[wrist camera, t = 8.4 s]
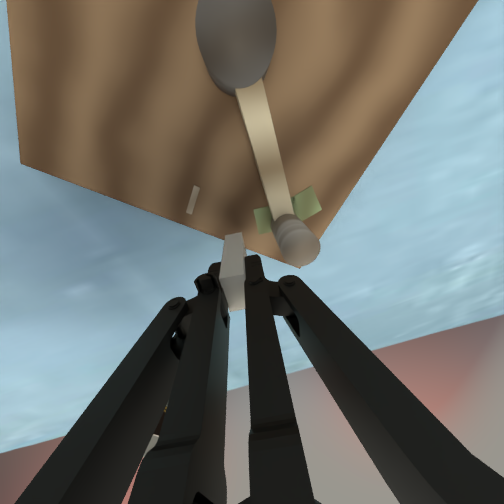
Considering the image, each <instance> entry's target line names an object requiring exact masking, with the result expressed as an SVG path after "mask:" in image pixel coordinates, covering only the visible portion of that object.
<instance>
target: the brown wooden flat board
mask: <svg viewBox="0 0 504 504" xmlns="http://www.w3.org/2000/svg"><path fill="white" fill-rule="evenodd" d="M6 1H7V13H8V24H9V36H10V47H11V59H12V70H13V82H14V93H15V105H16V116H17V128H18V139H19V151H20V163H21V164H23V165H26V166H28V167H31V168H34V169H36V170H39V171H42V172H44V173H47V174H50V175H52V176H55V177H58V178H60V179H63V180H66V181H68V182H71V183H74V184H76V185H79V186H82V187H84V188H87V189H90V190H92V191H95V192H98V193H100V194H103V195H106V196H108V197H111V198H113V199H116V200H119V201H121V202H124V203H127V204H129V205H132V206H135V207H137V208H140V209H143V210H145V211H148V212H151V213H153V214H156V215H159V216H161V217H164V218H167V219H169V220H172V221H175V222H177V223H180V224H183V225H185V226H188V227H191V228H193V229H196V230H199V231H201V232H204V233H206V234H209V235H212V236H214V237H217V238H220V239H222V240H225V235H229V234H234V233H239V232H242V236H243V241H244V245H245V248H246V249H249V250H252V251H254V252H257V253H260V254H262V255H265V256H268V257H270V258H273V259H276V260H278V261H281V262H284V263H286V264H288V263H287V262H286V261H285V260H284V258H283V256H282V254H281V251H280V249H279V247H278V244H277V242H276V240H275V237H274V235H273V232H272V230H271V226H270V224H271V220H272V215H271V211H270V208H269V205H268V201H267V198H266V194H265V191H264V188H263V184H262V181H261V178H260V174H259V171H258V168H257V164H256V161H255V158H254V154H253V151H252V148H251V144H250V141H249V138H248V134H247V131H246V128H245V124H244V121H243V118H242V114H241V111H240V108H239V104H238V101H237V98H236V97H234V96H230V95H228V94H226V93H224V92H223V91H221V90H220V89H219V88H218V87H217V86H216V85H215V83H214V82H213V81H212V79H211V77H210V75H209V73H208V71H207V68H206V65H205V63H204V60H203V57H202V55H201V52H200V49H199V46H198V42H197V37H196V29H195V17H196V9H197V4H198V0H6ZM477 1H478V0H271V2H272V5H273V8H274V12H275V17H276V26H277V35H276V44H275V49H274V53H273V56H272V59H271V62H270V64H269V67H268V70H267V73H266V76H265V78H264V80H263V85H264V89H265V93H266V97H267V102H268V106H269V110H270V114H271V118H272V123H273V127H274V131H275V135H276V139H277V144H278V148H279V152H280V156H281V160H282V165H283V169H284V173H285V177H286V181H287V186H288V190H289V194H290V198H291V203H292V207H293V211H294V213H295V214H296V215H297V217H298V218H299V219H300V220H301V221H302V222H303V223H304V224H305V225H306V226H307V227H308V228H309V229H310V231H311V232H312V233H313V234H314V235H315V236H316V237H317V238H318V240H319V239H320V238H321V236H322V235H323V233H324V232H325V230H326V229H327V227H328V226H329V224H330V223H331V221H332V220H333V218H334V217H335V215H336V214H337V212H338V211H339V209H340V208H341V206H342V205H343V203H344V202H345V200H346V198H347V197H348V195H349V194H350V192H351V191H352V189H353V188H354V186H355V185H356V183H357V182H358V180H359V179H360V177H361V176H362V174H363V173H364V171H365V170H366V168H367V167H368V165H369V164H370V162H371V161H372V159H373V158H374V156H375V155H376V153H377V152H378V150H379V149H380V147H381V146H382V144H383V143H384V141H385V140H386V138H387V137H388V135H389V134H390V132H391V131H392V129H393V128H394V126H395V125H396V123H397V122H398V120H399V119H400V117H401V116H402V114H403V113H404V111H405V110H406V108H407V107H408V105H409V104H410V102H411V101H412V99H413V98H414V96H415V95H416V93H417V92H418V90H419V89H420V87H421V86H422V84H423V83H424V81H425V80H426V78H427V77H428V75H429V74H430V72H431V71H432V69H433V68H434V66H435V65H436V63H437V62H438V60H439V59H440V57H441V56H442V54H443V53H444V51H445V50H446V48H447V47H448V45H449V44H450V42H451V41H452V39H453V37H454V36H455V34H456V33H457V31H458V30H459V28H460V27H461V25H462V24H463V22H464V21H465V19H466V18H467V16H468V15H469V13H470V12H471V10H472V9H473V7H474V6H475V4H476V3H477ZM289 265H290V264H289ZM294 267H297V266H294ZM297 268H299V269H300V268H301V266H300V267H297Z"/></svg>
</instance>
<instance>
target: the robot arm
mask: <svg viewBox="0 0 504 504" xmlns="http://www.w3.org/2000/svg"><path fill="white" fill-rule="evenodd" d="M194 283H195V285H196V288H197V290H198V295H197V296H196V297H194V298H192V299H190V300H187V301H186V300H185V298H183V297H176V298H173V299H171V300H170V301H168V302H167V303H166V304H165V305H164V306H163V308H162V309H161V310H160V312H159V313H158V314H157V316H156V317H155V318H154V320H153V321H152V322H151V324H150V325H149V326H148V327H147V329H146V330H145V331H144V333H143V334H142V335H141V337H140V338H139V339H138V341H137V342H136V343H135V345H134V346H133V347H132V349H131V350H130V351H129V353H128V354H127V355H126V357H125V358H124V359H123V361H122V362H121V363H120V365H119V366H118V367H117V369H116V370H115V371H114V373H113V374H112V375H111V376H110V378H109V379H108V380H107V382H106V383H105V384H104V386H103V387H102V388H101V390H100V391H99V392H98V394H97V395H96V396H95V398H94V399H93V400H92V402H91V403H90V404H89V406H88V407H87V408H86V410H85V411H84V412H83V414H82V415H81V416H80V418H79V419H78V420H77V422H76V423H75V424H74V425H73V427H72V428H71V429H70V431H69V432H68V433H67V435H66V436H65V437H64V439H63V440H62V441H61V443H60V444H59V445H58V447H57V448H56V449H55V451H54V452H53V453H52V455H51V456H50V457H49V459H48V460H47V461H46V463H45V464H44V465H43V467H42V468H41V469H40V471H39V472H38V473H37V475H36V476H35V477H34V478H33V480H32V481H31V483H30V484H29V485H28V486H27V488H26V489H25V491H24V492H23V493H22V494H21V496H20V497H19V498H18V500H17V501H16V503H15V504H121V503H122V501H123V499H124V497H125V495H126V492H127V490H128V488H129V486H130V484H131V482H132V479H133V477H134V475H135V473H136V471H137V468H138V466H139V464H140V462H141V460H142V458H143V455H144V453H145V451H146V449H147V447H148V445H149V442H150V440H151V438H152V436H153V434H154V432H155V429H156V427H157V425H158V423H159V421H160V418H161V416H162V414H163V412H164V410H165V408H166V405H167V403H168V405H167V409H166V412H165V416H164V420H163V423H162V427H161V431H160V434H159V438H158V440H157V443H156V444H155V446H154V447H153V448H152V449H151V450H149V451H148V452H147V453H146V455H145V456H144V458H143V460H142V462H141V464H140V467H139V470H138V472H137V475H136V479H135V482H134V486H133V488H132V492H131V495H130V498H129V501H128V504H226V503H227V486H226V477H225V470H224V447H225V423H226V421H225V420H226V397H227V373H228V349H229V324H230V317H229V313H228V307H229V310H230V312H231V311H236V310H242V309H245V314H246V334H247V354H248V375H249V395H250V413H251V414H250V416H251V430H250V433H249V477H250V497H248V498H246V499H245V500H243V501H242V502H240V503H238V504H321V503H320V502H318V501H317V500H315V499H314V496H313V492H312V487H311V482H310V478H309V474H308V469H307V464H306V460H305V456H304V451H303V446H302V442H301V437H300V433H299V429H298V425H297V421H296V417H295V413H294V408H293V403H292V399H291V394H290V390H289V385H288V380H287V376H286V371H285V367H284V362H283V357H282V353H281V348H280V344H279V339H278V335H277V330H276V326H275V321H274V316H273V315H278V316H283V318H284V320H285V321H286V323H287V324H288V326H289V328H290V329H291V331H292V332H293V334H294V336H295V337H296V339H297V340H298V342H299V344H300V345H301V347H302V348H303V350H304V352H305V353H306V355H307V357H308V358H309V360H310V361H311V363H312V365H313V366H314V368H315V369H316V371H317V372H318V374H319V376H320V377H321V379H322V380H323V382H324V384H325V385H326V387H327V389H328V390H329V392H330V393H331V395H332V397H333V398H334V400H335V402H336V403H337V405H338V406H339V408H340V409H341V411H342V413H343V414H344V416H345V418H346V419H347V420H348V422H349V424H350V426H351V427H352V429H353V430H354V432H355V434H356V435H357V437H358V439H359V440H360V442H361V443H362V445H363V447H364V448H365V450H366V451H367V453H368V455H369V456H370V458H371V459H372V461H373V463H374V464H375V466H376V467H377V469H378V471H379V472H380V474H381V475H382V477H383V479H384V480H385V482H386V483H387V485H388V486H389V488H390V489H391V491H392V492H393V494H394V495H395V497H396V498H397V500H398V501H399V503H400V504H504V478H503V477H502V476H501V475H499V474H498V473H497V472H495V471H494V470H493V469H491V468H490V467H488V466H487V465H486V464H484V463H483V462H482V461H480V460H479V459H478V458H476V457H475V456H474V455H472V454H471V453H470V452H469V451H468V450H467V449H466V448H465V447H464V446H463V445H462V444H461V443H460V442H459V441H458V439H457V438H455V436H453V434H452V433H451V432H450V431H449V430H448V429H447V428H446V427H445V426H444V425H443V424H442V423H441V422H440V421H439V420H438V419H437V418H436V417H435V416H434V415H433V414H432V413H431V412H430V411H429V410H428V409H427V408H426V407H425V406H424V405H423V404H422V403H421V402H420V401H419V400H418V399H417V398H416V397H415V396H414V395H413V393H411V392H410V390H409V389H408V388H407V387H406V386H405V385H404V384H402V382H401V381H400V380H399V379H398V378H397V377H396V376H395V375H394V374H393V373H392V372H391V371H390V370H389V369H388V368H387V367H386V366H385V365H384V364H383V363H382V362H381V361H380V360H379V359H378V358H377V357H376V356H375V355H374V354H373V353H372V352H371V351H370V350H369V349H368V347H367V346H366V345H365V344H364V343H363V342H362V341H361V340H360V339H359V338H358V337H357V336H356V335H355V334H354V333H353V332H352V331H351V330H350V329H349V328H348V327H347V326H346V325H345V324H344V323H343V322H342V321H341V320H340V319H339V318H338V317H337V316H336V315H335V314H334V313H333V312H332V311H331V310H330V309H329V308H328V307H327V306H326V305H325V304H324V302H323V301H322V300H321V299H320V298H319V297H318V296H317V295H316V294H315V293H314V292H313V291H312V290H311V289H310V288H309V287H308V286H307V285H306V284H305V283H304V282H303V281H302V280H301V279H300V278H299V277H297V276H294V275H287V276H283V277H281V278H280V279H279V281H278V282H273V281H269V280H267V279H266V278H265V276H264V272H263V267H262V263H261V258H260V256H258V255H257V254H256V255H251V256H247V254H246V250H245V245H244V241H243V236H242V232H239V233H234V234H229V235H225V240H224V247H223V254H222V261H221V262H218V263H213V264H212V265H211V266H210V267H209V270H208V273H205V274H202V275H200V276H198V277H197V278H196V279H195V281H194ZM174 332H175V335H174V337H173V338H172V336H173V334H174Z"/></svg>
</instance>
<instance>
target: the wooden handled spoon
mask: <svg viewBox="0 0 504 504" xmlns="http://www.w3.org/2000/svg"><path fill="white" fill-rule="evenodd" d="M195 29H196V37H197V42H198V46H199V49H200V52H201V55H202V57H203V60H204V63H205V65H206V68H207V71H208V73H209V75H210V77H211V79H212V81H213V82H214V83H215V85H216V86H217V87H218V88H219V89H220V90H221V91H223V92H224V93H226V94H228V95H230V96H234V97H236V98H237V101H238V104H239V108H240V111H241V114H242V118H243V121H244V124H245V128H246V131H247V134H248V138H249V141H250V144H251V148H252V151H253V154H254V158H255V161H256V164H257V168H258V171H259V174H260V178H261V181H262V184H263V188H264V191H265V194H266V198H267V201H268V205H269V208H270V211H271V215H272V220H271V224H270V226H271V230H272V232H273V235H274V237H275V240H276V242H277V244H278V247H279V249H280V251H281V254H282V256H283V258H284V260H285V261H286V262H287V263H288V264H290V265H292V266H297V267H300V266H305V265H308V264H310V263H311V262H313V261H314V260H315V259H316V257H317V256H318V254H319V252H320V242H319V240H318V238H317V237H316V236H315V235H314V234H313V233H312V232H311V231H310V229H309V228H308V227H307V226H306V225H305V224H304V223H303V222H302V221H301V220H300V219H299V218H298V217H297V215H296V214H295V213H294V211H293V207H292V203H291V198H290V194H289V190H288V186H287V181H286V177H285V173H284V169H283V165H282V160H281V156H280V152H279V148H278V144H277V139H276V135H275V131H274V127H273V123H272V118H271V114H270V110H269V106H268V102H267V97H266V93H265V89H264V85H263V80H264V78H265V76H266V73H267V70H268V67H269V64H270V62H271V59H272V56H273V53H274V49H275V44H276V35H277V26H276V17H275V12H274V8H273V5H272V2H271V0H198V4H197V9H196V17H195Z"/></svg>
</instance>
